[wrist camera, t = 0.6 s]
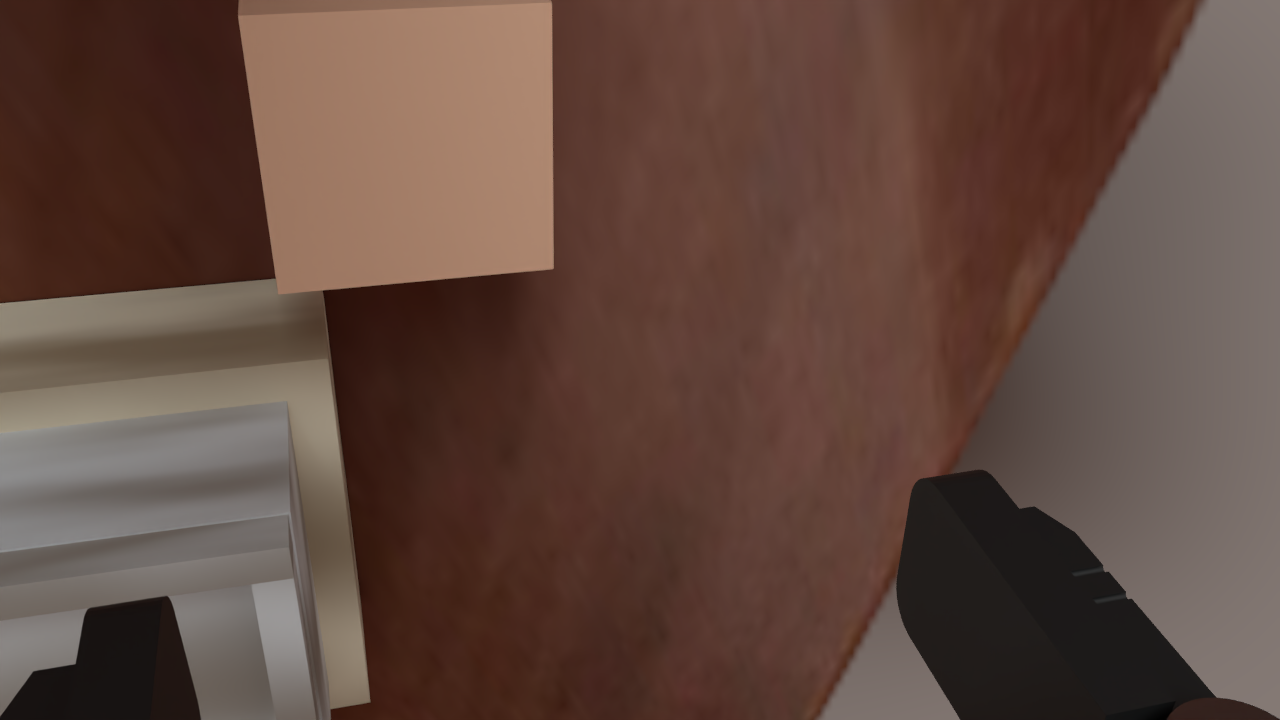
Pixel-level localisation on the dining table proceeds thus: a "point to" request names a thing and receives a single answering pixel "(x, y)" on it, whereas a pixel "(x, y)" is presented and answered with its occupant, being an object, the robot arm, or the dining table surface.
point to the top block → (402, 137)
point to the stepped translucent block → (181, 490)
